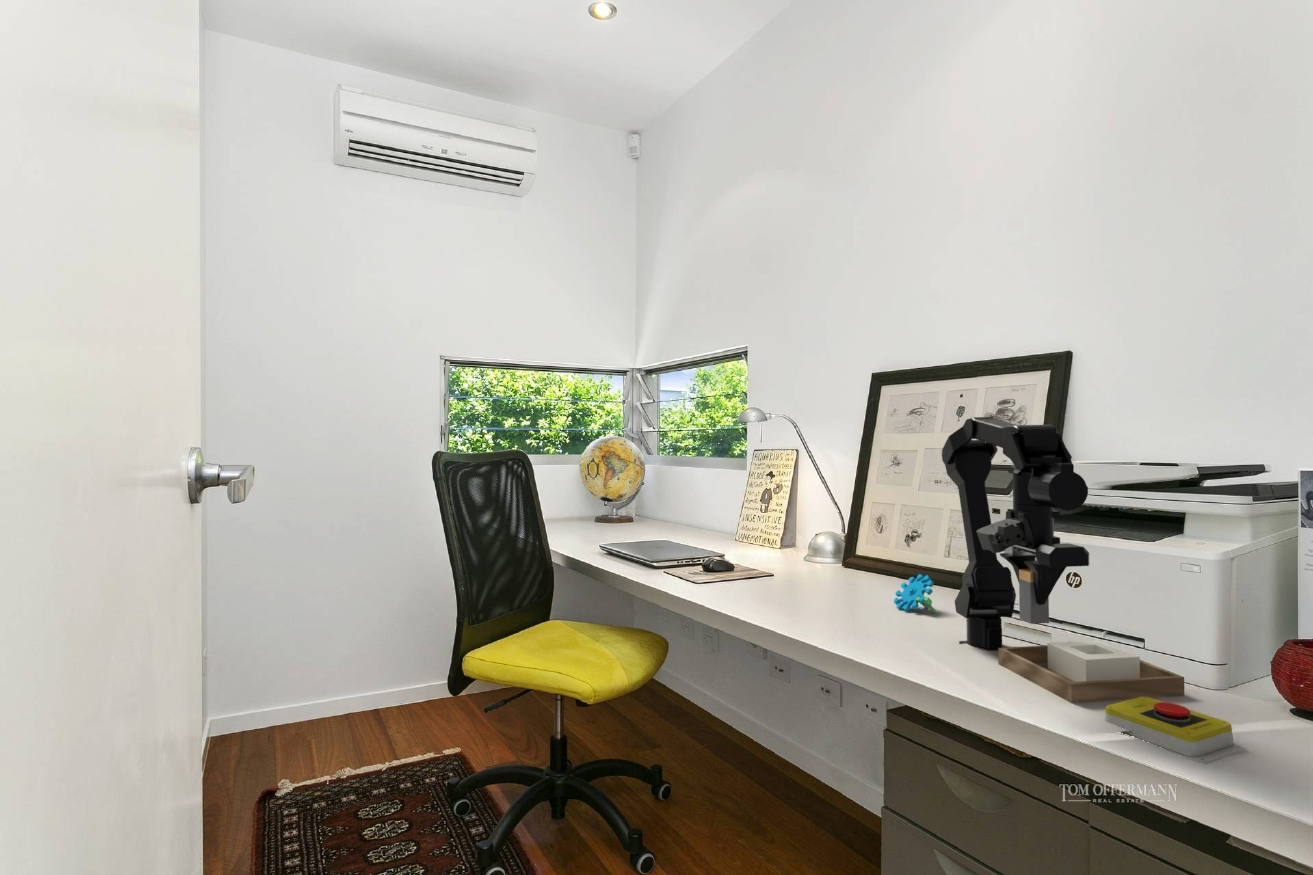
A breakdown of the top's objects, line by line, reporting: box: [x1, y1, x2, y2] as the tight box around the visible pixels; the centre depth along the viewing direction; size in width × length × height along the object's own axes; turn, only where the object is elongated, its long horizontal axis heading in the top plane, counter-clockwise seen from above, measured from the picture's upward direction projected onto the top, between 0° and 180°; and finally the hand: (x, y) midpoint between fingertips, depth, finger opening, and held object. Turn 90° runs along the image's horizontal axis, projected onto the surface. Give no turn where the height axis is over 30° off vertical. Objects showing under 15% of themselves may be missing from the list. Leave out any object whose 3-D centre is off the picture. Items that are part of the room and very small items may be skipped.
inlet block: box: [1046, 639, 1141, 682], centre depth 117 cm, size 9×9×4 cm
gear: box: [893, 574, 937, 614], centre depth 165 cm, size 11×6×10 cm
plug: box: [1018, 569, 1050, 625], centre depth 116 cm, size 3×3×8 cm
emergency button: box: [1104, 697, 1247, 764], centre depth 96 cm, size 9×4×15 cm
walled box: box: [997, 644, 1186, 704], centre depth 115 cm, size 18×18×4 cm
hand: (1034, 601), depth 116 cm, fingers closed on plug, 3 cm apart
